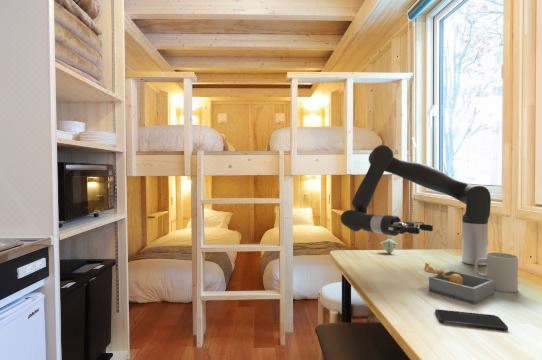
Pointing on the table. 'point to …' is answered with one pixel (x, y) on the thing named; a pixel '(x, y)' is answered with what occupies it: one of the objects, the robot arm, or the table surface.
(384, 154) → the robot arm
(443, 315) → the phone
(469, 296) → the tote
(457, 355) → the table surface
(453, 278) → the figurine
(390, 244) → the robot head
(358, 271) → the table surface
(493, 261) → the mug
